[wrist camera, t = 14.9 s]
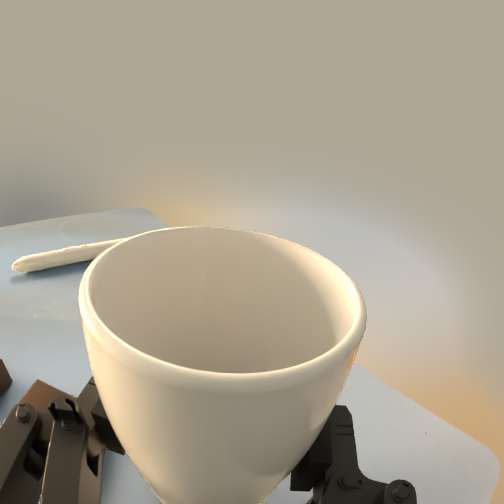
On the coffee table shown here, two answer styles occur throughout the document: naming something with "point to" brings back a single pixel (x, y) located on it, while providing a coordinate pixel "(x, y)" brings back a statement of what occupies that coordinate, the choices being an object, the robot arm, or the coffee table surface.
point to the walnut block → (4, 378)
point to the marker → (62, 256)
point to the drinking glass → (218, 356)
